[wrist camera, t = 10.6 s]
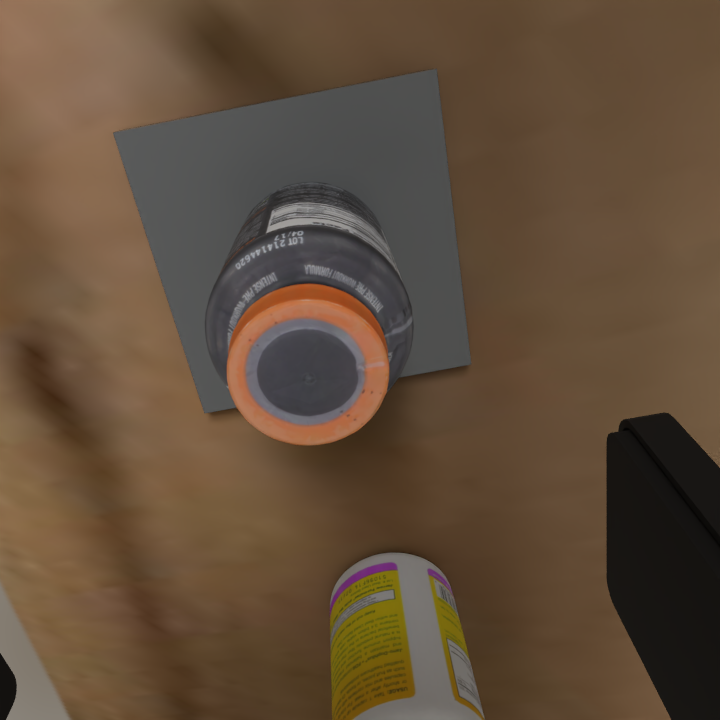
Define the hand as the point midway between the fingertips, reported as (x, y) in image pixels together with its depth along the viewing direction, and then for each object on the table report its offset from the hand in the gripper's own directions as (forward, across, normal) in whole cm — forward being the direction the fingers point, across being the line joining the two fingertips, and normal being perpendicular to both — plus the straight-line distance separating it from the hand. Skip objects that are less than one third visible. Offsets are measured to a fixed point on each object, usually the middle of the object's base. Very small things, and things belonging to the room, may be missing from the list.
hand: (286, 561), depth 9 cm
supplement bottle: (+19, 0, +21) cm, 28 cm away
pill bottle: (+18, 0, +1) cm, 18 cm away
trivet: (+19, 0, +1) cm, 19 cm away
